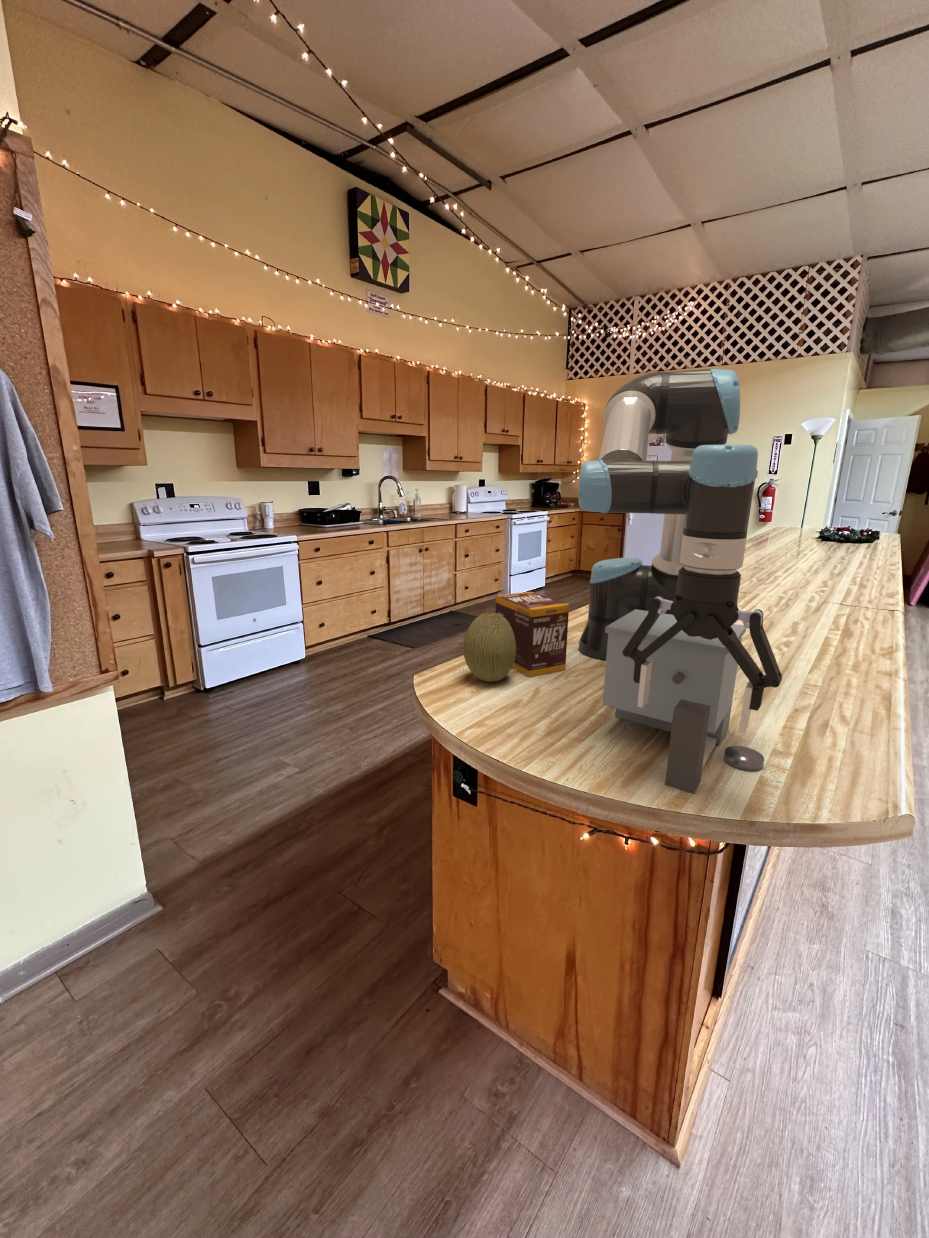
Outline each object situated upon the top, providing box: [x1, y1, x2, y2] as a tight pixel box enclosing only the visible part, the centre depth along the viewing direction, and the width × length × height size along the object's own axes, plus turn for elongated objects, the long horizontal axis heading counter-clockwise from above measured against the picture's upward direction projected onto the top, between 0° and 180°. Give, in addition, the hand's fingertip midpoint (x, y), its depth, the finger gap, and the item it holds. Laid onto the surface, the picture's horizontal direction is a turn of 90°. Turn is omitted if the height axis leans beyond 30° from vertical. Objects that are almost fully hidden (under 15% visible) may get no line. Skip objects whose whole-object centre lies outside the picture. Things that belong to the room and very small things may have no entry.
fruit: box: [462, 612, 516, 683], centre depth 116 cm, size 11×11×15 cm
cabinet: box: [602, 609, 747, 746], centre depth 92 cm, size 19×16×19 cm
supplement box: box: [494, 591, 570, 678], centre depth 126 cm, size 10×15×16 cm
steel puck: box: [723, 745, 765, 772], centre depth 85 cm, size 6×6×2 cm
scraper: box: [664, 699, 716, 795], centre depth 83 cm, size 4×17×12 cm, turn 145°
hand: (690, 716), depth 77 cm, fingers open, 13 cm apart
